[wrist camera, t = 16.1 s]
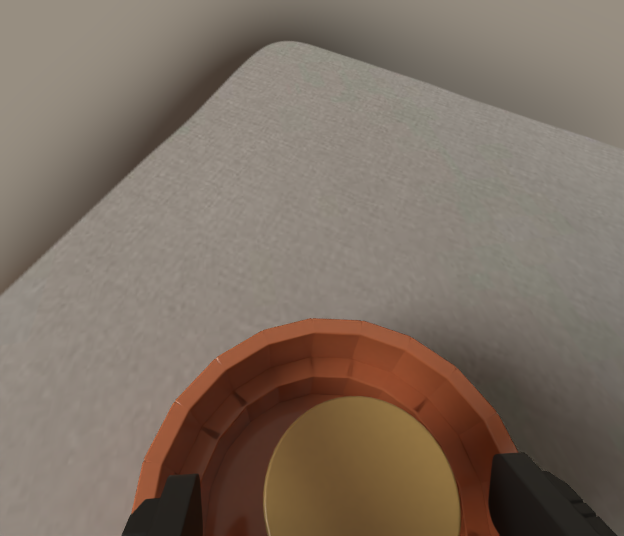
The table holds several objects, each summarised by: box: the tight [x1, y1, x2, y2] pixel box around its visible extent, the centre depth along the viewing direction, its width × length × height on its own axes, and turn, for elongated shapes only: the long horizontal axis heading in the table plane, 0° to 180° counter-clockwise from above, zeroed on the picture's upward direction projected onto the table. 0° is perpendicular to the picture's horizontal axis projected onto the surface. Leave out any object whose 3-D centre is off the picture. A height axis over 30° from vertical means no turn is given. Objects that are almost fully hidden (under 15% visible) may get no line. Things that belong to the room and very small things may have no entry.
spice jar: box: [263, 396, 461, 536], centre depth 14 cm, size 5×5×10 cm
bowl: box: [131, 318, 518, 536], centre depth 16 cm, size 13×13×6 cm
